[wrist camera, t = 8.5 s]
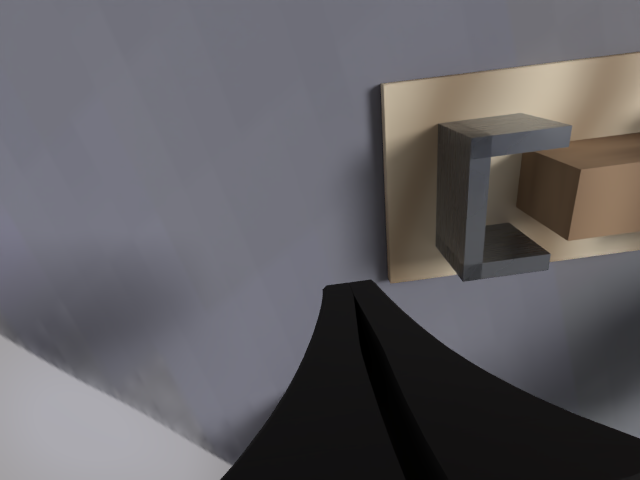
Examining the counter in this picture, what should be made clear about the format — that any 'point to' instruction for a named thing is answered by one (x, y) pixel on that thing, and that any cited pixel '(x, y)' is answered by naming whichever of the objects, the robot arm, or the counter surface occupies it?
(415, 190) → the board
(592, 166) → the slat
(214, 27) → the counter surface
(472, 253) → the bracket
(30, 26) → the counter surface
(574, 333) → the counter surface
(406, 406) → the robot arm
